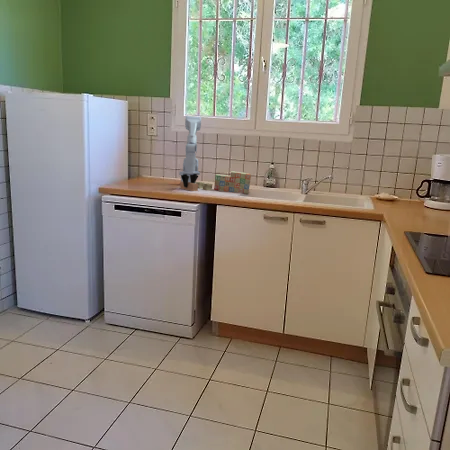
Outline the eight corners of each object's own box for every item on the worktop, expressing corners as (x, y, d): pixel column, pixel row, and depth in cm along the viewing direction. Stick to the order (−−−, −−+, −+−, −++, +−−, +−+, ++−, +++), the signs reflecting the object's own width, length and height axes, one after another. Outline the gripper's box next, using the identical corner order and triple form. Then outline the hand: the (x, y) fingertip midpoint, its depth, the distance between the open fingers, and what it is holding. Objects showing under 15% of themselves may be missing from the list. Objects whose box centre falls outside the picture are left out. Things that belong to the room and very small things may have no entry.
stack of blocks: (213, 190, 263) (215, 169, 261) (214, 188, 269) (216, 169, 267) (248, 194, 262) (251, 174, 259) (248, 193, 268) (251, 173, 265)
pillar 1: (195, 187, 269) (195, 181, 268) (199, 187, 272) (200, 181, 271) (199, 188, 266) (199, 182, 265) (204, 188, 269) (204, 182, 268)
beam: (180, 188, 261) (180, 181, 260) (184, 187, 263) (184, 181, 263) (193, 190, 253) (193, 184, 252) (197, 190, 255) (198, 184, 254)
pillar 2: (202, 189, 264) (203, 183, 263) (207, 188, 267) (207, 183, 266) (207, 190, 261) (207, 184, 261) (211, 189, 264) (212, 184, 264)
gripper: (185, 164, 247) (184, 188, 250) (203, 164, 257) (202, 187, 260) (177, 163, 252) (176, 186, 255) (195, 163, 262) (194, 185, 265)
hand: (188, 187), depth 258 cm, fingers open, 5 cm apart
